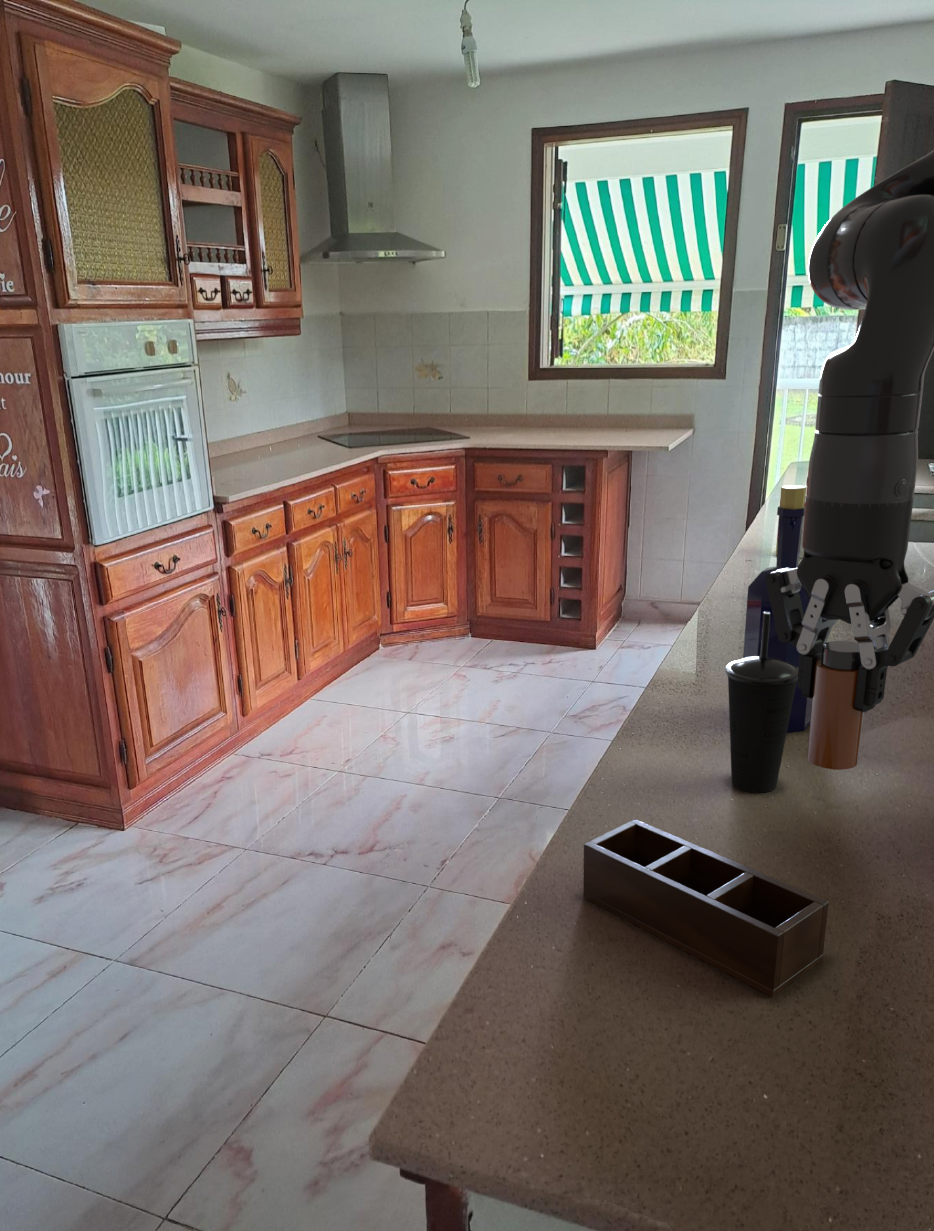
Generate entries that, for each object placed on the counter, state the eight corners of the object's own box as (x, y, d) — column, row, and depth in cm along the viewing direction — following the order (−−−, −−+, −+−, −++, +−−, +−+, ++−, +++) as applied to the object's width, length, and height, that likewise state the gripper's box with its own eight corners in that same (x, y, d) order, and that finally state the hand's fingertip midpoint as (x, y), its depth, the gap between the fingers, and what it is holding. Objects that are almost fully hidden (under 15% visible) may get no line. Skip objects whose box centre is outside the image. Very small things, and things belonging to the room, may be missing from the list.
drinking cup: (761, 764, 116) (774, 599, 109) (804, 791, 110) (821, 616, 103) (704, 776, 114) (714, 608, 107) (745, 803, 108) (758, 626, 101)
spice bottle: (823, 746, 86) (834, 636, 82) (867, 759, 83) (881, 645, 79) (797, 760, 84) (807, 646, 80) (842, 774, 81) (854, 657, 77)
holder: (633, 870, 96) (634, 818, 94) (822, 960, 81) (829, 901, 79) (582, 897, 92) (583, 844, 90) (772, 997, 77) (778, 936, 75)
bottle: (806, 708, 132) (828, 480, 122) (818, 734, 124) (842, 492, 113) (734, 706, 134) (749, 481, 124) (741, 732, 126) (757, 494, 115)
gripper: (980, 492, 72) (948, 711, 78) (801, 477, 83) (785, 671, 89) (930, 508, 68) (900, 738, 74) (748, 490, 79) (735, 693, 85)
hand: (837, 701), depth 81 cm, fingers closed on spice bottle, 4 cm apart
